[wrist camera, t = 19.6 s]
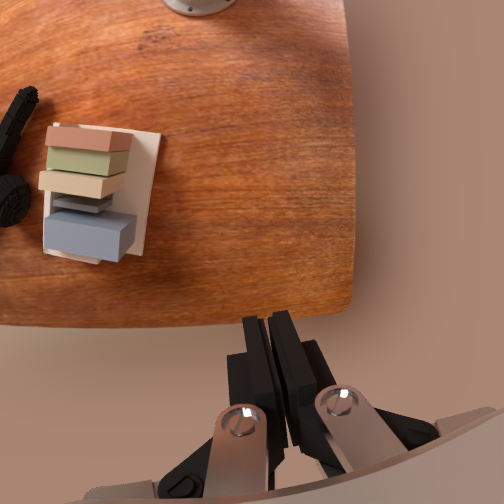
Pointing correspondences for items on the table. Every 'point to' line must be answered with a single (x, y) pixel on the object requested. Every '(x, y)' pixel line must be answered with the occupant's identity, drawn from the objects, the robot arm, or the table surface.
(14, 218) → the toy
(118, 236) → the grey block
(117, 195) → the shelf
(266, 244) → the table surface
